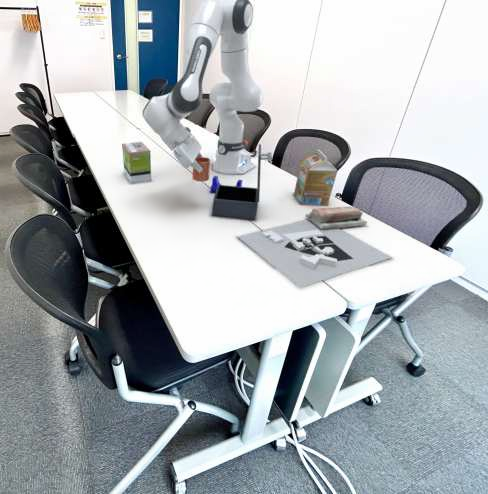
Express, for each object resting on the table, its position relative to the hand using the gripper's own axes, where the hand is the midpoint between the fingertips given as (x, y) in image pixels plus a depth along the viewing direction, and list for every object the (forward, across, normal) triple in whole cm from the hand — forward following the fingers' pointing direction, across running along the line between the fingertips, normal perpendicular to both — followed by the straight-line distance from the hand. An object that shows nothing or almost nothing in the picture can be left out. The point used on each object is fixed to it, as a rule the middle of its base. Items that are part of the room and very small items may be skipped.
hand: (203, 167), depth 124 cm
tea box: (-13, +24, +36) cm, 45 cm away
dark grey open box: (+20, 0, +2) cm, 21 cm away
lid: (+14, 0, -14) cm, 20 cm away
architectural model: (+38, -22, -16) cm, 47 cm away
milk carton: (+42, +17, -18) cm, 49 cm away
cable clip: (+17, +16, +6) cm, 24 cm away
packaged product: (+46, -2, -23) cm, 51 cm away
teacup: (+3, 0, +4) cm, 4 cm away
